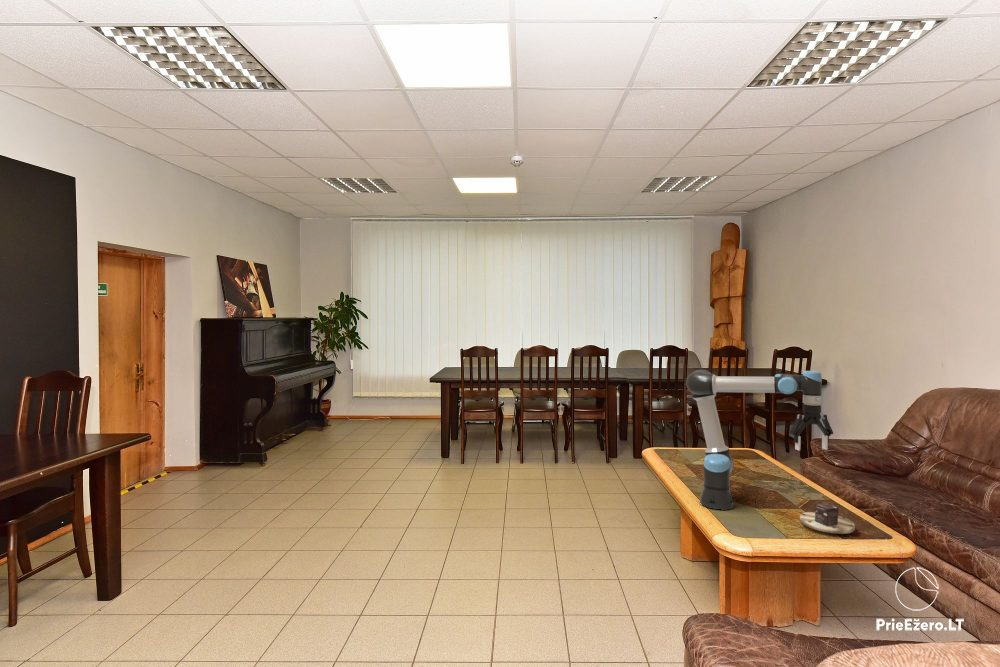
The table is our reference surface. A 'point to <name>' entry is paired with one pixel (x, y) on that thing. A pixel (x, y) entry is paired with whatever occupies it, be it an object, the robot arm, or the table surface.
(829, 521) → the box
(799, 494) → the table surface
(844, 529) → the turntable
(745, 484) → the table surface
